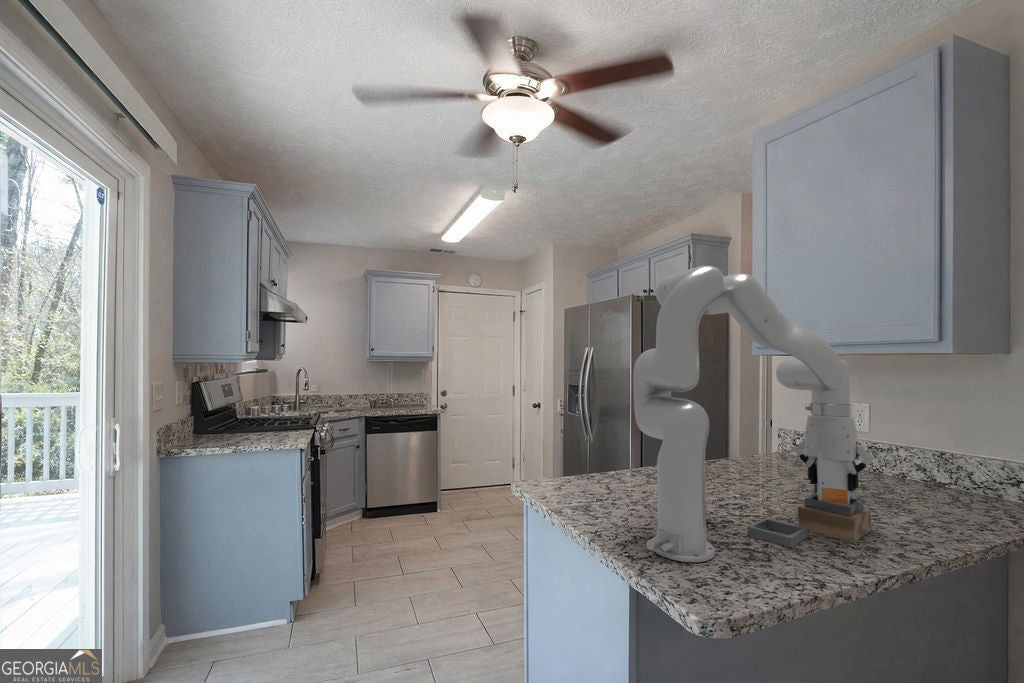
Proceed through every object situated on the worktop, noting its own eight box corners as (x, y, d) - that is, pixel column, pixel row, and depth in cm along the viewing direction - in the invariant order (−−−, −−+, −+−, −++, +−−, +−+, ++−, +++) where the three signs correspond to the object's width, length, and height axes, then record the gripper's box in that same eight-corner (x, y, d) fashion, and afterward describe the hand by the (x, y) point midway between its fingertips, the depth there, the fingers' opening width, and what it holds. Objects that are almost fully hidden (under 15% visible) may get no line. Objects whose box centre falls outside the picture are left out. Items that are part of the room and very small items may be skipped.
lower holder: (791, 547, 98) (790, 538, 98) (747, 535, 106) (747, 526, 106) (807, 537, 104) (807, 528, 104) (765, 526, 111) (765, 517, 111)
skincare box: (819, 503, 109) (817, 451, 109) (817, 498, 112) (815, 448, 113) (851, 507, 106) (848, 454, 106) (848, 502, 110) (845, 450, 110)
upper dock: (854, 542, 101) (853, 510, 101) (798, 528, 110) (797, 498, 110) (871, 530, 108) (870, 500, 109) (817, 518, 117) (816, 489, 117)
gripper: (784, 409, 115) (786, 481, 114) (870, 415, 101) (873, 498, 100) (796, 407, 119) (798, 477, 118) (880, 413, 106) (883, 492, 105)
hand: (832, 486), depth 109 cm, fingers closed on skincare box, 7 cm apart
